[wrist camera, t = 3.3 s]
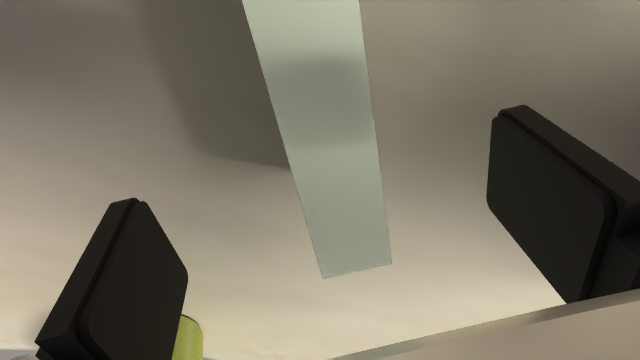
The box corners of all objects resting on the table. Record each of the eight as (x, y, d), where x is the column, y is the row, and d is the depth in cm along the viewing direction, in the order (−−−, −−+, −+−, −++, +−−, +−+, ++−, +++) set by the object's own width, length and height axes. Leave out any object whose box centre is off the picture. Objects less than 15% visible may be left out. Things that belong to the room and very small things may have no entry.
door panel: (307, -123, 18) (337, -167, 9) (355, 160, 27) (392, 263, 18) (235, -105, 18) (202, -135, 10) (307, 171, 27) (322, 279, 19)
